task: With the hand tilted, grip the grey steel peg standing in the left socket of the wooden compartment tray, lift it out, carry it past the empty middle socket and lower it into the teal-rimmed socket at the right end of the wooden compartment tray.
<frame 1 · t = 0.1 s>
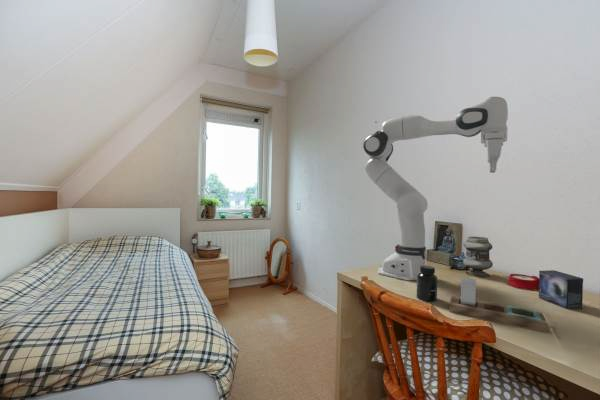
hand: (492, 171, 114), 48 cm above the table, tool pointing down, fingers open, 8 cm apart
apothecary jar: (477, 274, 135), on the table
wooden compartment tray: (494, 317, 87), on the table
steel peg: (467, 310, 91), point 1 cm above the table, touching wooden compartment tray
supplement bottle: (426, 300, 101), on the table
alarm clock: (527, 287, 118), on the table
small box: (559, 303, 100), on the table
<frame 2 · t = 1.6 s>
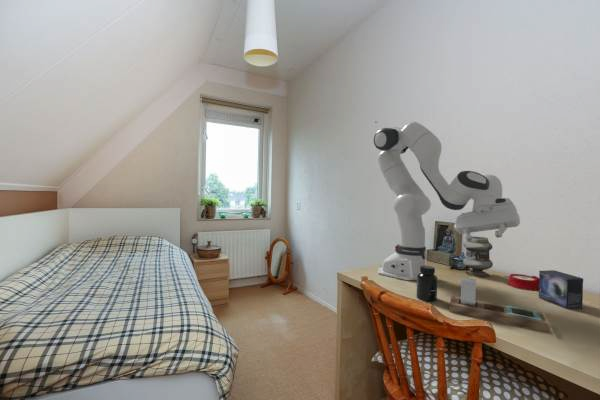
hand: (482, 238, 97), 23 cm above the table, tool tilted 45°, fingers open, 8 cm apart
nothing on the table moved.
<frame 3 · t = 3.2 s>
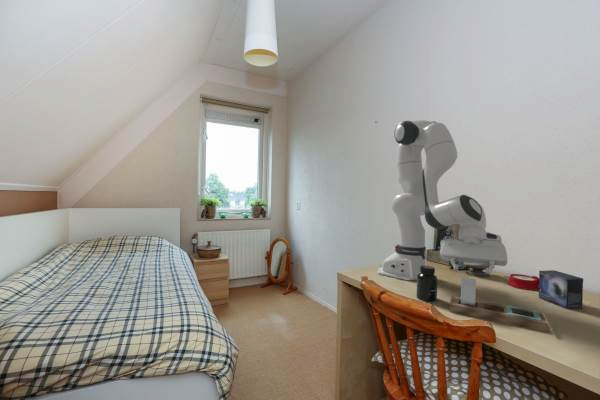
hand: (471, 272, 95), 12 cm above the table, tool tilted 45°, fingers open, 8 cm apart
nothing on the table moved.
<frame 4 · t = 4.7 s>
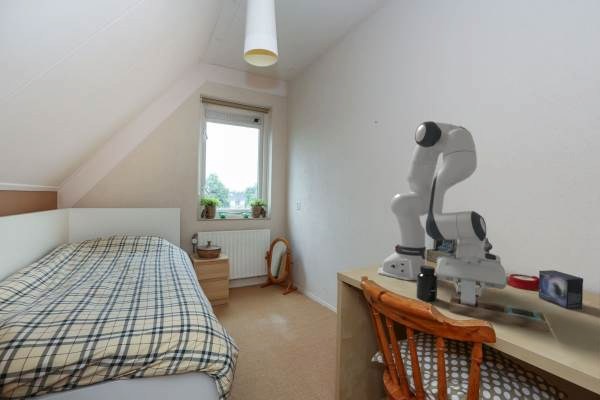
hand: (468, 294, 90), 6 cm above the table, tool tilted 45°, fingers closed on steel peg, 4 cm apart
steel peg: (467, 310, 91), point 1 cm above the table, touching gripper, wooden compartment tray
everything else where it was.
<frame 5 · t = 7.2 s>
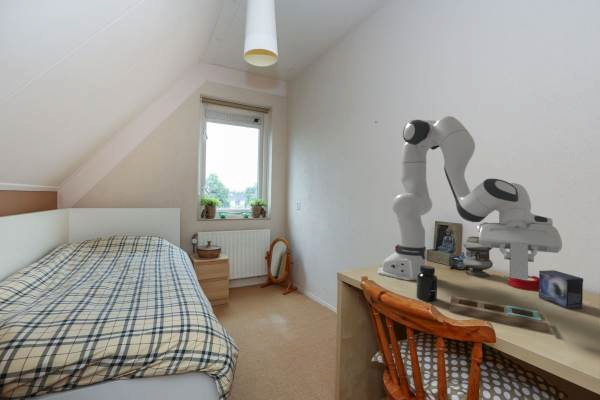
hand: (518, 259, 83), 19 cm above the table, tool tilted 45°, fingers closed on steel peg, 4 cm apart
steel peg: (518, 277, 83), point 14 cm above the table, touching gripper
everything else where it was.
when the fingers open (8 cm above the table, at t = 9.6 s): steel peg drops 2 cm, resting on wooden compartment tray.
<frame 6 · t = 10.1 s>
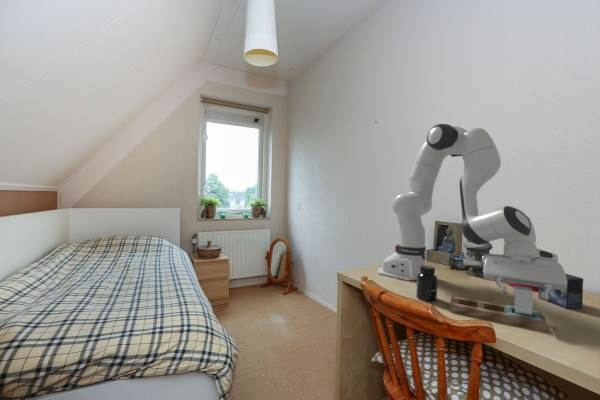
hand: (523, 295, 83), 8 cm above the table, tool tilted 45°, fingers open, 8 cm apart
steel peg: (522, 321, 83), point 1 cm above the table, touching wooden compartment tray
everything else where it was.
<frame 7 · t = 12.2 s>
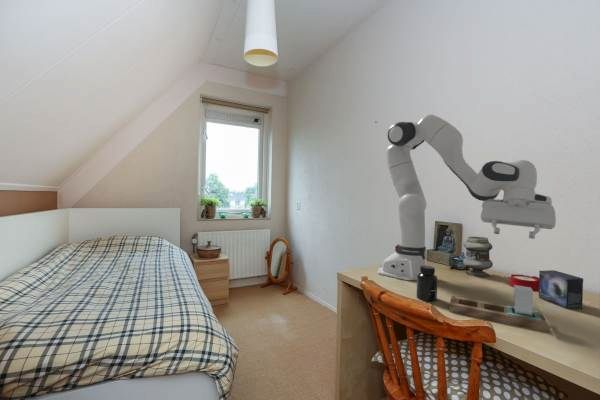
hand: (513, 235, 93), 25 cm above the table, tool tilted 35°, fingers open, 8 cm apart
nothing on the table moved.
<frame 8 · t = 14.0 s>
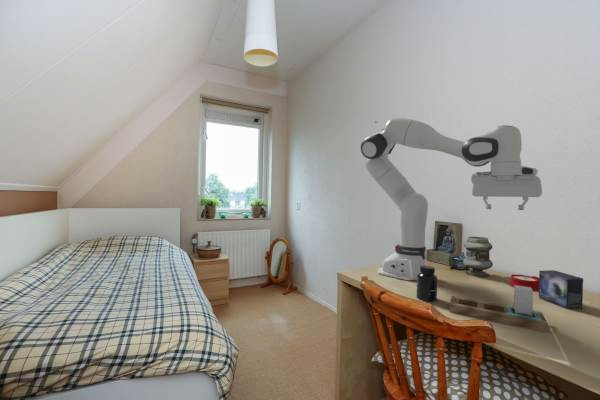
hand: (504, 209, 101), 33 cm above the table, tool pointing down, fingers open, 8 cm apart
nothing on the table moved.
at the end: steel peg 0.0 cm from the target spot on the wooden compartment tray, point 0.6 cm above the wooden compartment tray's base; steel peg tilted 0°; the gripper is holding nothing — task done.
